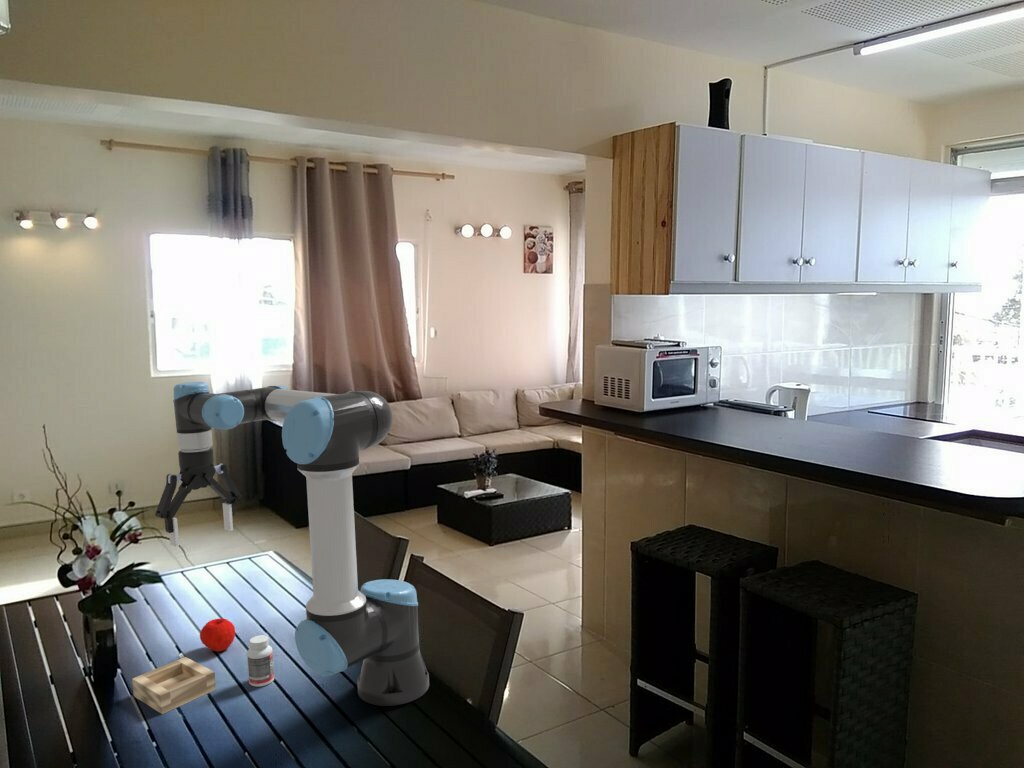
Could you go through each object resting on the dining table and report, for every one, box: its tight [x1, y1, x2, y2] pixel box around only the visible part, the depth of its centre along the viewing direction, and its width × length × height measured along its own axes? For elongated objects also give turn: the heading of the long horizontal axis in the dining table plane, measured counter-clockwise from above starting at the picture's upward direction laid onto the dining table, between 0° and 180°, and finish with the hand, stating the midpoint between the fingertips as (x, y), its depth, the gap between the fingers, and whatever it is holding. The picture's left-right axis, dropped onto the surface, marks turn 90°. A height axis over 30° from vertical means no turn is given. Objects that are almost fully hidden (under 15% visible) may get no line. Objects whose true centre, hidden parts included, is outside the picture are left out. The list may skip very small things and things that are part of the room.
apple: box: [199, 617, 236, 652], centre depth 187 cm, size 8×8×7 cm
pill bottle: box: [246, 634, 275, 688], centre depth 171 cm, size 5×5×10 cm
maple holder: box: [131, 656, 217, 715], centre depth 167 cm, size 12×12×4 cm
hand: (202, 537), depth 184 cm, fingers open, 13 cm apart
